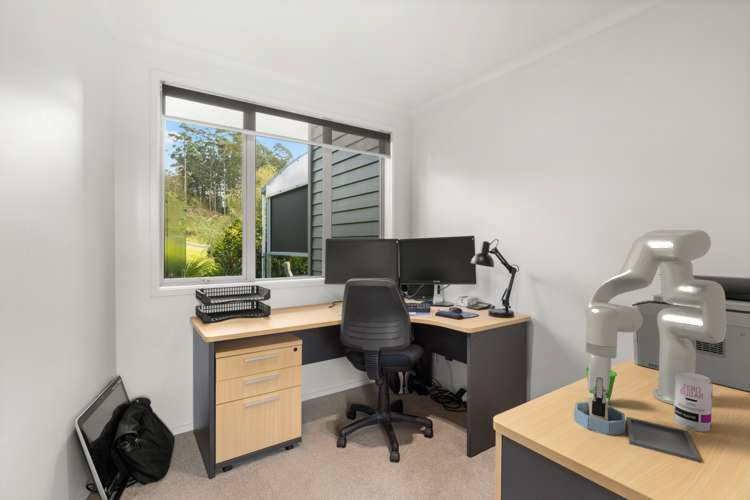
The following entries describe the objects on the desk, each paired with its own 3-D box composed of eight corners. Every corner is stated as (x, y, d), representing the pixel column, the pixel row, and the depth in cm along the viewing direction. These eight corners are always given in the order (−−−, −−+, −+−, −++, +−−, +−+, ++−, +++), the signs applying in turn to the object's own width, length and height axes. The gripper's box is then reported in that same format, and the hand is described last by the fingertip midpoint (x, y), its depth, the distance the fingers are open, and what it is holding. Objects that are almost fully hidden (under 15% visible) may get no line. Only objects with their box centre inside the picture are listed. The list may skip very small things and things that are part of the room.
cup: (621, 411, 113) (622, 377, 113) (590, 407, 115) (591, 374, 115) (608, 399, 122) (609, 367, 122) (579, 396, 124) (580, 365, 124)
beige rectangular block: (590, 413, 105) (588, 393, 105) (607, 416, 102) (605, 395, 103) (589, 418, 102) (587, 397, 102) (608, 421, 99) (606, 399, 100)
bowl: (576, 410, 113) (576, 398, 113) (623, 422, 106) (623, 408, 106) (573, 427, 103) (573, 413, 103) (625, 441, 96) (625, 426, 96)
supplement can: (701, 422, 107) (703, 373, 107) (717, 436, 99) (719, 383, 99) (668, 417, 110) (670, 369, 109) (681, 430, 102) (683, 379, 102)
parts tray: (626, 420, 107) (626, 416, 107) (687, 434, 100) (687, 430, 100) (629, 445, 94) (629, 440, 94) (699, 464, 86) (700, 459, 86)
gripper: (586, 341, 111) (584, 399, 111) (584, 354, 97) (581, 420, 97) (615, 345, 107) (613, 406, 107) (617, 359, 93) (614, 428, 93)
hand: (598, 412), depth 102 cm, fingers closed on beige rectangular block, 2 cm apart
